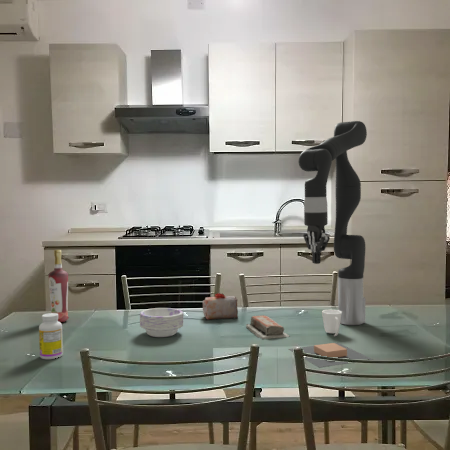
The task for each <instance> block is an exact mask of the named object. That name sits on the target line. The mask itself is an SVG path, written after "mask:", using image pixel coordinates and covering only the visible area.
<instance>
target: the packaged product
mask: <svg viewBox="0 0 450 450" xmlns="http://www.w3.org/2000/svg"><path fill="white" fill-rule="evenodd" d="M245 326H246V329H248V330H249V331H250V332H251V333H252V334H253V335H254V336H255V337H257V338H259V339H261V340H268V339H280V338H289V337H290V335H289V334H288V333H286V332H284V331H285V328H284V326H282V325H280V324H279V323H278V322H276V321H275V320H273V318H271V317H269V316H267V315H253V316H251V317H250V323H249V324H248V323H247V324H245Z"/></svg>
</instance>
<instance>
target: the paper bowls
mask: <svg viewBox="0 0 450 450" xmlns="http://www.w3.org/2000/svg"><path fill="white" fill-rule="evenodd" d="M139 327H140V328H142V329H143V330H145V333H146V334H147V335H148V336H149V337H153V338H167V337H172V336H174V335H175V334H177V333H178V330H179V329H181V328H183V327H184V311H183V310H181V309H177V308H171V307H155V308H148V309H144V310H141V311H140V312H139Z"/></svg>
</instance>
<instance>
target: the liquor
mask: <svg viewBox="0 0 450 450" xmlns="http://www.w3.org/2000/svg"><path fill="white" fill-rule="evenodd" d="M53 253H54V254H53V255H54V265H53V266H54V267H53V268H54V270H52V271H50V272H49V273H48V286H49V287H48V288H49V297H50V298H49V299H50V313H57V314H58V322H60V323H61V322H64V323H65V321H66V322H67V321H68V320H69V318H70V317H69V315H68V313H69V312H68V311H69V310H68V297H69V273H68V271H66V270H64V269H63V265H62V249H54V250H53ZM61 324H62V323H61Z"/></svg>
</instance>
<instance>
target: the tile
mask: <svg viewBox="0 0 450 450" xmlns="http://www.w3.org/2000/svg"><path fill="white" fill-rule="evenodd" d="M335 343H336V342H331V343H330V342H329V343H322V344H314V345H313V346H314V352H315V353H317V354H319V355H321V356H327V357H343V356H347V349H346V348H343V347H341V346H339V345H337V344H335Z"/></svg>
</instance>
